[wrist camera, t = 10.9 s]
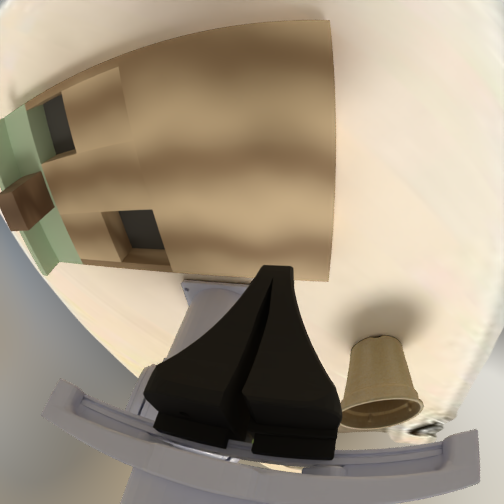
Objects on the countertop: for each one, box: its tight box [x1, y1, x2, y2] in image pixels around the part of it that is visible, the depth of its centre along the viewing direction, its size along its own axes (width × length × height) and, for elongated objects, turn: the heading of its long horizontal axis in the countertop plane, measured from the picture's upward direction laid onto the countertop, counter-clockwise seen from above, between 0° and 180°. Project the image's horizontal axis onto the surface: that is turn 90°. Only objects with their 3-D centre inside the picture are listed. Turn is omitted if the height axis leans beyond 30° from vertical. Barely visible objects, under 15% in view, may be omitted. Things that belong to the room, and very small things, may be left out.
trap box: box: [0, 20, 336, 282], centre depth 19 cm, size 18×30×5 cm, turn 96°
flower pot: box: [340, 336, 424, 430], centre depth 26 cm, size 9×9×9 cm
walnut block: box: [0, 171, 55, 231], centre depth 20 cm, size 4×4×4 cm
